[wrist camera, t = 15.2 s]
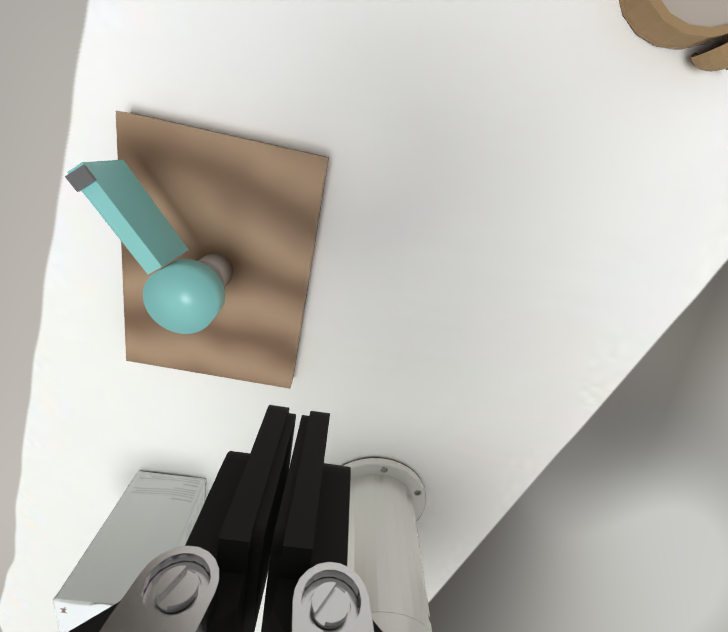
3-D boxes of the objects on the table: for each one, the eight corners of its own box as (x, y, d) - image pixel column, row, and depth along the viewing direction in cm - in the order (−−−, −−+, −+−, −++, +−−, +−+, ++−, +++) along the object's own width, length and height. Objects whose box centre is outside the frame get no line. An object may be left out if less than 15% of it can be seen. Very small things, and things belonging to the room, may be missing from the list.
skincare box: (140, 502, 48) (54, 642, 35) (138, 466, 46) (44, 602, 32) (208, 511, 49) (150, 652, 35) (210, 476, 47) (148, 613, 33)
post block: (293, 377, 41) (280, 420, 35) (137, 350, 40) (94, 390, 33) (328, 157, 32) (320, 161, 26) (130, 112, 31) (69, 104, 24)
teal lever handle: (246, 293, 32) (228, 317, 27) (197, 319, 33) (172, 346, 28) (144, 146, 27) (102, 146, 23) (90, 181, 28) (40, 187, 24)
